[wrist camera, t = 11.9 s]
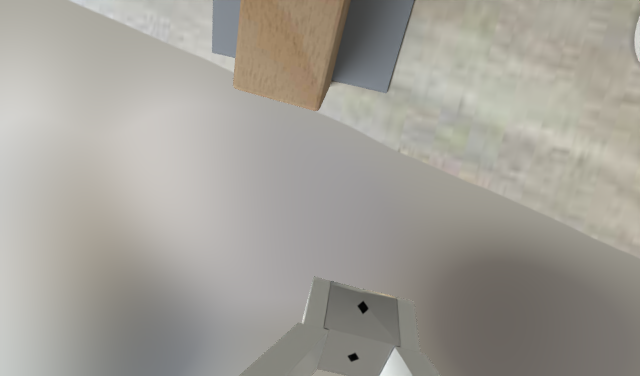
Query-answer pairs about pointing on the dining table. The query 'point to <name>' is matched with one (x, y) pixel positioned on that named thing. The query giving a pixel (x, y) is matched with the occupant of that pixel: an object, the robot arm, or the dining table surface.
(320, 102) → the wooden block
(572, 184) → the dining table surface
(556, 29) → the dining table surface
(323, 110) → the dining table surface
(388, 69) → the felt mat
